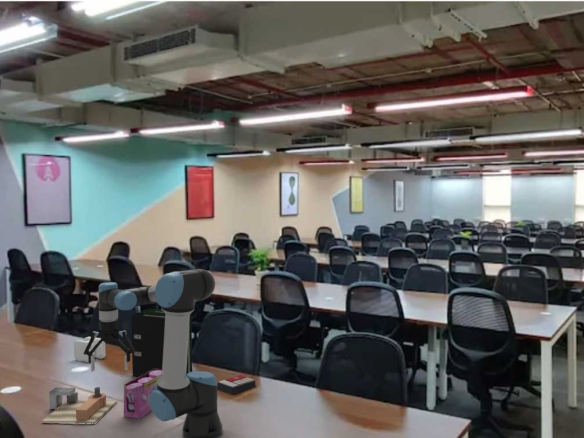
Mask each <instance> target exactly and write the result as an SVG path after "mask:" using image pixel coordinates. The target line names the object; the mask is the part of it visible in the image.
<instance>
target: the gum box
mask: <svg viewBox="0 0 584 438" xmlns="http://www.w3.org/2000/svg"><path fill="white" fill-rule="evenodd" d="M161 377H162V369H156V368H155V369H153V370H151V371H149V372H147V373H145V374H143V375H141V376H139V377H135V378H134V379H132V380H130V381H128V382H126V383H124V384H123V416H124V418H125V417H127V418H131V419H136V420H137V419H138V420H140V419H141V418H143V417H144V416H146V415H147V414H149V413H151V412H153V411H152V409H151V406H150V402H149V397H150V394H151V393H152V391H153V390H157V381H158V379H159V378H161Z"/></svg>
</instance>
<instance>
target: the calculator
mask: <svg viewBox="0 0 584 438" xmlns="http://www.w3.org/2000/svg"><path fill="white" fill-rule="evenodd" d="M217 385H218V386H217V391H220V392H223V393H226V394H228V395H231V396H233V395H236V394H238V393H240V392H243V391H247V390H249V389H252V388H254V387H256V380H255V379H254V378H251V377H247V376H244V375H242V374H241V375H236V376H233V377H228V378H225V379H223V380H219V381H218V382H217Z"/></svg>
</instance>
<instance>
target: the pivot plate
mask: <svg viewBox="0 0 584 438" xmlns="http://www.w3.org/2000/svg"><path fill="white" fill-rule="evenodd" d="M93 390H94V394H95V398H98V397H100V393H101V387H100V386H97V387H94V389H93ZM87 400H88V399H78V402H76V403H67V401H66V402H63V403H62V405H61V406H60V407H59V408H58V409H56V410H53V411H52V412H51V413H49V415H47V416H46V417H44V419H42V420H41V422H42V421H47V422H48V421H49V422H75V423H85V424H87V423H91V424H92V423H93V424H95V423H96V422H97V421H98V420H99V419H100V418H101V419H102V418H104V416H106V414H107V413H109V412H110V411H111V410H112V408H115V406H116V405H117V403H118V402H117V400H106V405H105V406H103V407H100V408H99V409H98V410H97V411H96V412H95V413H94V414H93V415H91V416H90V417H89V418H88V419H87V420H76V409H78V408H79V407H80V406H81V405H82V404H84V403H85V402H86V401H87ZM101 419H100V420H101ZM100 420H99V421H100ZM99 421H98V422H99ZM98 422H97V423H98ZM97 423H96V424H97ZM96 424H95V425H96Z"/></svg>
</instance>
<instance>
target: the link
mask: <svg viewBox="0 0 584 438" xmlns="http://www.w3.org/2000/svg"><path fill="white" fill-rule="evenodd" d="M86 400H87V401H86V402H85V403H84V404H82V405H81V406H80V407H79V408H78V409H76V420H87V419H88V418H89V417H90V416H91V415H93V414H94V413H95V412H96V411H97V410H98V409H99V408H100V407H103V406H105V405H106V401H107V394H105V393H103V392H100V397H98V398H95V393H93V394H90V395H89V396H88V399H86Z"/></svg>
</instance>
